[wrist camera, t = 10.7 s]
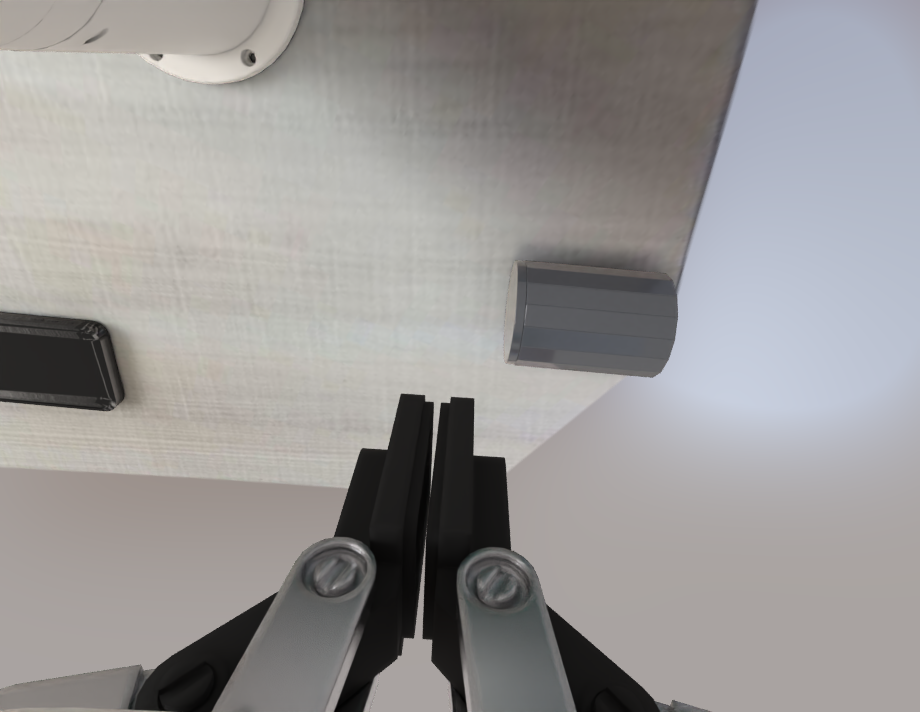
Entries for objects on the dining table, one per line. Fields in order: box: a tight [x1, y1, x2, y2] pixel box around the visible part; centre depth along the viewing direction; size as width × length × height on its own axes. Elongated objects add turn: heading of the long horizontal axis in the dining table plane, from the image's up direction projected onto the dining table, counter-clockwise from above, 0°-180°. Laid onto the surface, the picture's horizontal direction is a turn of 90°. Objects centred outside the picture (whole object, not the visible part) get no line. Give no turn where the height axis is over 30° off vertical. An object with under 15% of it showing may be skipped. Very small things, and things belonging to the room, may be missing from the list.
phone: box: [0, 312, 124, 411], centre depth 43 cm, size 8×1×15 cm
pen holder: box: [503, 260, 678, 377], centre depth 36 cm, size 7×7×10 cm
